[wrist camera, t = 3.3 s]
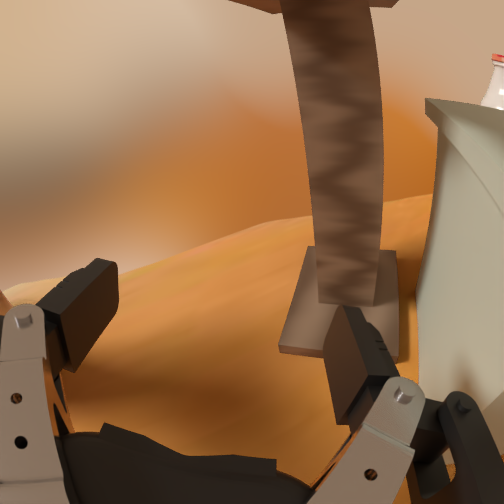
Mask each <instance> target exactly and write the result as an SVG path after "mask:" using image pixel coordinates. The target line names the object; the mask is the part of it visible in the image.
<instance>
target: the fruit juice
mask: <svg viewBox="0 0 504 504" xmlns="http://www.w3.org/2000/svg"><path fill="white" fill-rule="evenodd" d="M492 60H493V61H492V62H493V65H494V72H493V75H492V78H491V82H490V85H489V87H488V90H487V92H486V94H485V96H484V98H483V99H482V101H481V104H480V106H486V107H491V108H496V109H500V110H504V56H502V55H498V54H492Z"/></svg>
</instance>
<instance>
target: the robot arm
mask: <svg viewBox="0 0 504 504" xmlns="http://www.w3.org/2000/svg"><path fill="white" fill-rule="evenodd" d="M118 304H119V291H118V267H117V264H116V263H115V262H113V261H108V260H104V259H100V258H96V259H95V260H94V261H92V262H91V263H90V264H89V265H88V266H86V267H85V268H81V269H79V270H76V271H74V272H72V273H70V274H69V275H68V276H67V277H66V278H64V279H63V282H62V281H61V282H60V283H59V284H58V285H56V287H54V288H53V289H52V290H51V291H50V292H49V293H47V294H46V295H45V296H44V297H43V298H42V299H41V300H40V301H39V302H38V303H37V304H36V305H33V304H22V305H18V306H15V307H13V306H12V305H11V304H10V302H9V301H8V300H7V298H6V297H5V296H4V294H3V293H2V292H1V290H0V504H392V503H393V501H394V499H395V497H396V495H397V493H398V491H399V489H400V487H401V484H402V482H403V480H404V478H405V476H406V478H407V483H408V488H409V493H410V499H411V504H504V463H503V461H502V458H501V456H500V453H499V451H498V448H497V446H496V444H495V441H494V439H493V437H492V434H491V432H490V430H489V428H488V426H487V424H486V421H485V419H484V417H483V415H482V413H481V411H480V409H479V407H478V405H477V403H476V402H475V401H474V399H473V398H472V397H470V396H469V395H468V394H466V393H464V392H460V391H453V392H451V393H449V394H448V396H447V397H446V398H445V400H444V401H443V402H440V401H436V400H432V399H428V398H425V394H424V392H423V390H422V389H421V388H420V386H418V385H417V384H416V383H415V382H413V381H412V380H410V379H407V378H404V377H400V375H399V372H398V370H397V368H396V366H395V364H394V361H393V359H392V357H391V355H390V353H389V351H387V350H388V348H387V346H386V344H385V343H384V340H383V338H382V336H381V334H380V332H379V331H378V330H377V329H376V328H375V327H374V326H373V325H372V324H371V323H370V322H367V321H366V319H365V317H364V315H363V313H362V311H361V309H360V308H359V307H353V306H346V305H339V306H338V307H337V309H336V311H335V314H334V316H333V319H332V322H331V324H330V327H329V329H328V332H327V334H326V337H325V339H324V343H323V358H324V363H325V368H326V372H327V377H328V382H329V387H330V392H331V397H332V402H333V408H334V413H335V418H336V424H337V425H349V427H350V431H351V433H350V434H349V436H348V437H347V438H346V440H345V441H344V443H343V444H342V446H341V447H340V448H339V450H338V451H337V453H336V454H335V455H334V457H333V458H332V459H331V461H330V462H329V463H328V465H327V466H326V467H325V469H324V470H323V471H322V472H321V474H320V475H319V476H318V477H317V478H316V480H315V481H314V482H313V483H312V484H311V485H310V486H308V485H307V484H305V483H304V482H302V481H301V480H299V479H297V478H295V477H293V476H291V475H288V474H286V473H283V472H280V471H277V470H276V459H266V458H256V457H247V456H239V455H217V456H186V455H182V454H180V453H178V452H175V451H173V450H171V449H169V448H167V447H165V446H163V445H161V444H159V443H157V442H155V441H153V440H151V439H150V438H148V437H146V436H144V435H141V434H138V433H134V432H131V431H128V430H125V429H122V428H119V427H116V426H113V425H110V424H108V423H105V422H104V424H103V426H102V429H101V431H100V432H76V433H75V431H74V428H73V425H72V422H71V418H70V414H69V410H68V405H67V401H66V396H65V391H64V386H63V380H62V376H61V373H60V371H61V370H62V368H63V369H66V370H68V371H71V372H73V373H75V371H76V370H77V368H78V367H79V365H80V364H81V362H82V361H83V360H84V358H85V357H86V355H87V354H88V352H89V351H90V349H91V348H92V346H93V345H94V344H95V342H96V341H97V339H98V338H99V336H100V335H101V334H102V332H103V331H104V329H105V328H106V327H107V325H108V324H109V322H110V321H111V320H112V318H113V317H114V316H115V314H116V312H117V309H118ZM448 448H450V451H451V454H452V457H453V460H454V463H455V467H456V474H455V477H454V479H453V480H452V482H450V478H449V475H448V472H447V468H446V465H445V462H444V458H443V455H442V454H443V453H444V452H445V451H446V450H447V449H448Z"/></svg>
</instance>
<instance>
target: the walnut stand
mask: <svg viewBox="0 0 504 504" xmlns="http://www.w3.org/2000/svg"><path fill="white" fill-rule="evenodd" d="M229 1H233V2H236V3H240V4H243V5H247V6H250V7H253V8H256V9H259V10H262V11H265V12H268V13H271V14H277V13H282V14H283V19H284V24H285V29H286V34H287V39H288V44H289V49H290V54H291V60H292V65H293V70H294V76H295V82H296V88H297V95H298V101H299V107H300V114H301V121H302V127H303V135H304V142H305V150H306V158H307V167H308V175H309V185H310V194H311V204H312V215H313V226H314V239H315V246H308V248H307V251H306V255H305V258H304V262H303V265H302V269H301V272H300V276H299V279H298V283H297V286H296V289H295V293H294V296H293V299H292V302H291V306H290V309H289V312H288V315H287V319H286V322H285V325H284V328H283V331H282V334H281V337H280V340H279V343H278V346H279V351H280V353H287V354H294V355H302V356H309V357H318V358H323V343H324V339H325V337H326V334H327V332H328V329H329V327H330V324H331V322H332V319H333V316H334V314H335V311H336V309H337V307H338V306H339V305H346V306H353V307H359V308H360V309H361V311H362V313H363V315H364V317H365V319H366V321H367V322H370V323H371V324H372V325H373V326H374V327H375V328H376V329H377V330H378V331H379V332H380V334H381V336H382V338H383V340H384V343H385V344H386V346H387V348H388V350H387V351H389V353H390V355H391V357H392V359H393V361H394V364H396V362H397V359H398V357H399V294H398V274H397V260H396V251H393V250H380V238H381V224H382V207H383V175H384V173H383V172H384V166H383V165H384V158H383V157H384V150H383V117H382V101H381V87H380V76H379V67H378V58H377V51H376V44H375V37H374V30H373V24H372V19H371V13H370V8H369V7H386V8H392V7H393V6H394V5H395V4H396V3H397V2H398V1H399V0H229Z"/></svg>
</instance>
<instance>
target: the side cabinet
mask: <svg viewBox="0 0 504 504" xmlns="http://www.w3.org/2000/svg"><path fill="white" fill-rule="evenodd" d="M425 114H426V115H427V116H428V117H429V118H430V119H431V120H432V121H433V122H434V123H435V124H436V126H437V127H438V143H437V159H436V172H435V182H434V192H433V199H432V207H431V214H430V221H429V227H428V233H427V238H426V244H425V249H424V254H423V259H422V263H421V268H420V272H419V276H418V281H417V285H416V289H415V293H416V304H417V319H418V341H419V385H418V386H420V388H421V389H422V390H423V392H424V394H425V398H428V399H432V400H436V401H440V402H443V401H444V400H445V398H446V397H447V396H448V394H449V393H451V392H453V391H460V392H464V393H466V394H468V395H469V396H470V397H472V398H473V399H474V401H475V402H476V403H477V405H478V407H479V409H480V411H481V413H482V415H483V417H484V419H485V421H486V424H487V426H488V428H489V430H490V432H491V434H492V437H493V439H494V441H495V444H496V446H497V448H498V451H499V453H500V456H501V455H503V454H504V110H500V109H496V108H491V107H486V106H480V105H475V104H469V103H462V102H455V101H448V100H440V99H431V98H425ZM442 455H443V458H444V462H445V465H446V464H455V463H454V460H453V457H452V454H451V451H450V448H448V449H447V450H446V451H445V452H444V453H443V454H442Z"/></svg>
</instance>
